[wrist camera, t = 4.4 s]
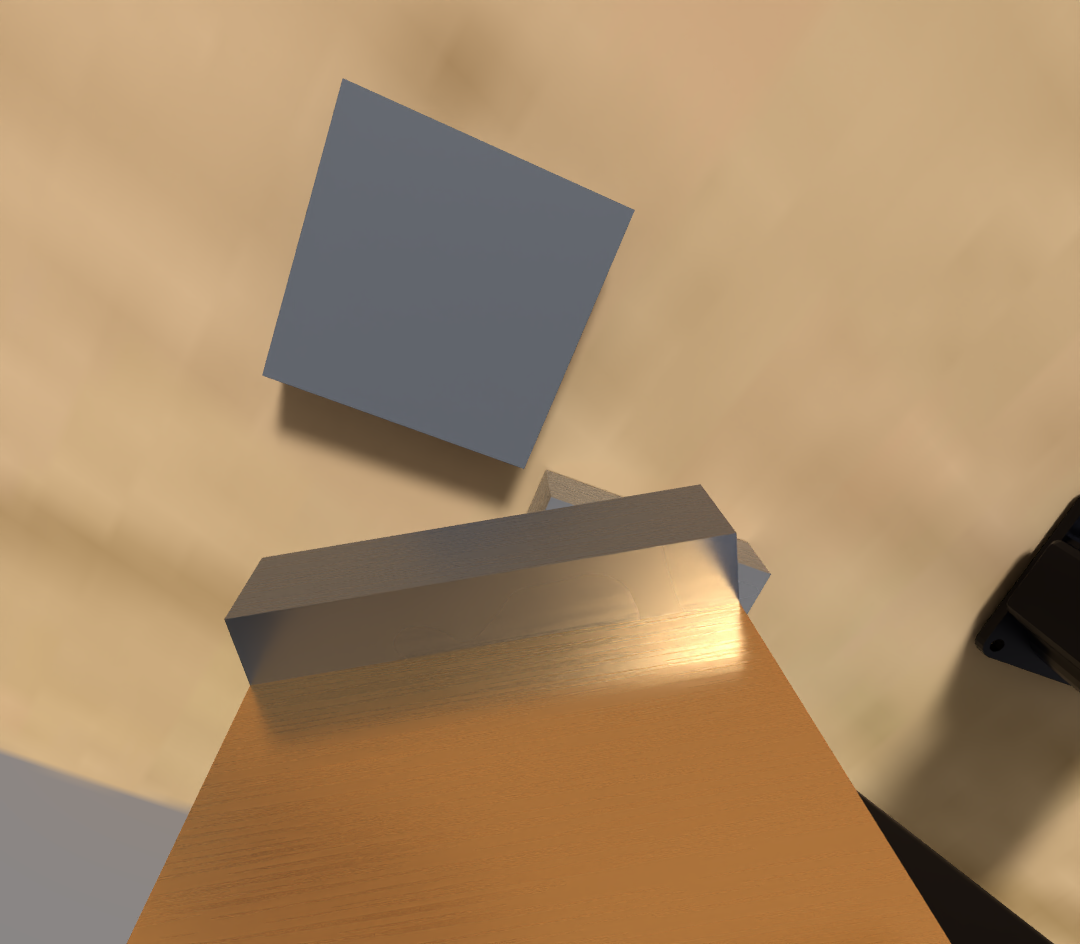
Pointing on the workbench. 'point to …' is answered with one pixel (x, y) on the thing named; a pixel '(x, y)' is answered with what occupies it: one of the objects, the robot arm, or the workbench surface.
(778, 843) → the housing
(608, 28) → the workbench surface
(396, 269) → the stand
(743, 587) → the stand
